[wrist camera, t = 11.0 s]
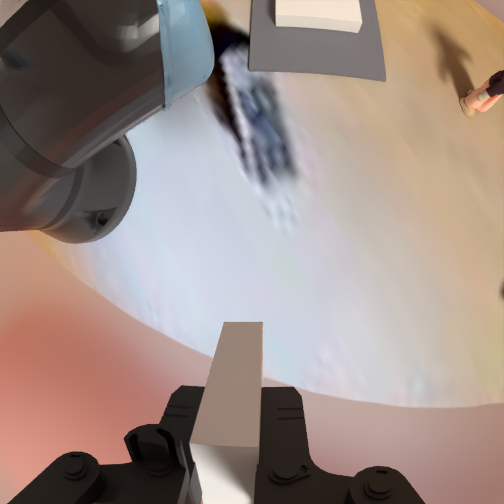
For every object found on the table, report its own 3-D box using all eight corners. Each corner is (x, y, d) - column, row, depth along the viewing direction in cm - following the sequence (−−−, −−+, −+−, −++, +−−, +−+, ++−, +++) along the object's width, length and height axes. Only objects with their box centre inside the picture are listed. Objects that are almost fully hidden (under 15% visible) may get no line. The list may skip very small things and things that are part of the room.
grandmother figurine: (472, 130, 31) (532, 101, 19) (451, 108, 31) (507, 71, 19) (491, 95, 30) (545, 63, 18) (472, 75, 31) (522, 36, 18)
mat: (249, 71, 33) (248, 69, 33) (255, -36, 32) (254, -39, 31) (384, 81, 32) (386, 79, 31) (366, -28, 30) (367, -30, 30)
